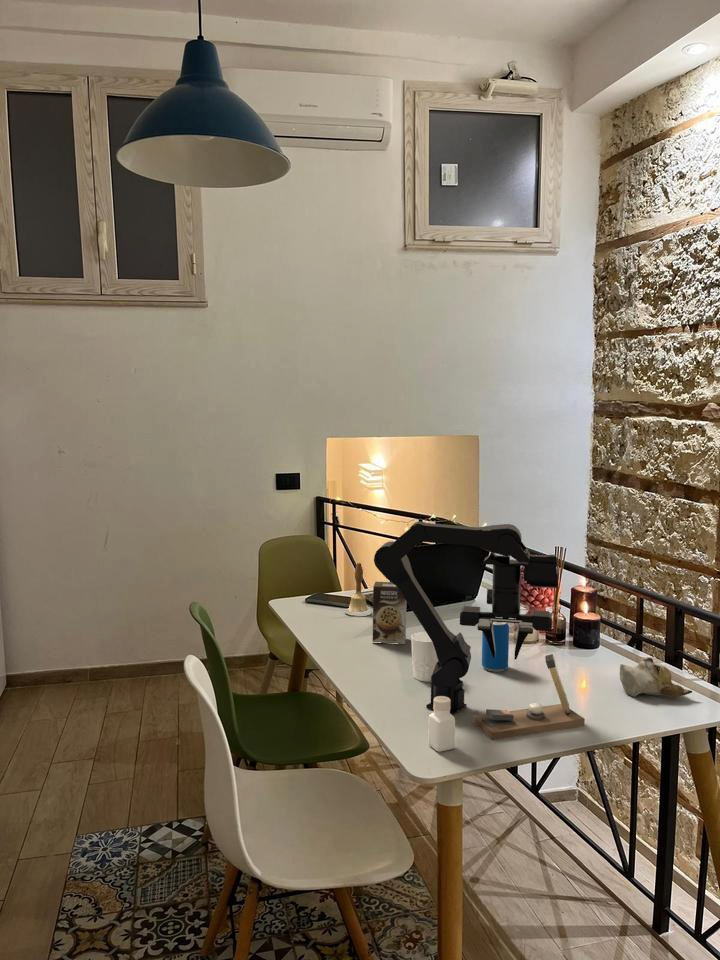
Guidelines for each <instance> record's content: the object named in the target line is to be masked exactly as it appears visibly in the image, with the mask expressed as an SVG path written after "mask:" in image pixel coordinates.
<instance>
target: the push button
mask: <svg viewBox="0 0 720 960" xmlns="http://www.w3.org/2000/svg"><path fill="white" fill-rule="evenodd" d="M542 707H543V705H542V704H540V703H535V702H533V703H530V704H528V709H529V712H530V713H533V714H541V713H542Z"/></svg>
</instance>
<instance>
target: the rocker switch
mask: <svg viewBox="0 0 720 960" xmlns="http://www.w3.org/2000/svg"><path fill="white" fill-rule="evenodd" d="M509 711H510V710H507V709H491V708H490V709H488V708H487V709H486V708H485V714H484V715H487V716H488V717H489V718H491V719H492V720H513V717H514V715H512V714H511V713H510V712H509Z"/></svg>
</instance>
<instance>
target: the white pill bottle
mask: <svg viewBox="0 0 720 960" xmlns="http://www.w3.org/2000/svg"><path fill="white" fill-rule="evenodd" d="M450 703H451V700H450V698H448V697H445V696H437V697H435V698H434V700H433V708H434V710H433V712H432V713H430V714H429V715H428V725H427V726H428V727H427V729H428V735H427V737H428V738H427V739H428V740H427V742H428V745H429V746H430V747H431V748H432V749H434V750H435V751H436V752H439V753H440V752H445V751H451V750H453V749H455V747H456V746H455V745H456V737H455V736H456V718H455V717H454V716H453V714H452V715H451V714H450Z"/></svg>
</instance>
